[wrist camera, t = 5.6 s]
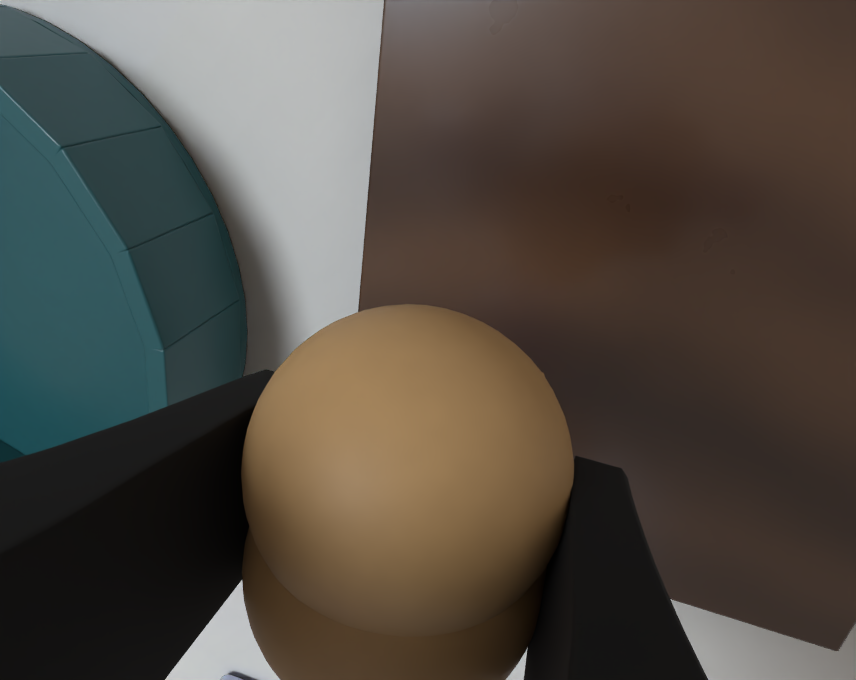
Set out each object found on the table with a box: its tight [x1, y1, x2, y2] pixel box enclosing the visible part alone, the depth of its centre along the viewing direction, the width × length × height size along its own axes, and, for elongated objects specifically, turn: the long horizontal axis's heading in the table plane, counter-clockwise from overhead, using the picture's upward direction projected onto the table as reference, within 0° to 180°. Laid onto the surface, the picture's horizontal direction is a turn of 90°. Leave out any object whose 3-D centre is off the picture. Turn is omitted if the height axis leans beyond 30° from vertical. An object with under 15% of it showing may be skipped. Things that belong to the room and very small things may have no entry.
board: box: [358, 0, 856, 651], centre depth 15 cm, size 20×14×1 cm
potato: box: [241, 304, 574, 680], centre depth 9 cm, size 6×4×4 cm
